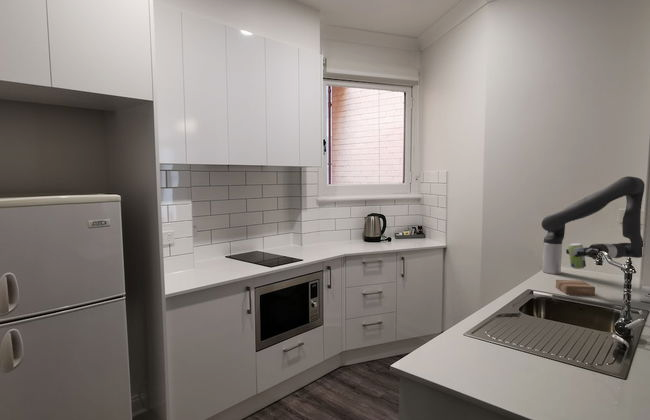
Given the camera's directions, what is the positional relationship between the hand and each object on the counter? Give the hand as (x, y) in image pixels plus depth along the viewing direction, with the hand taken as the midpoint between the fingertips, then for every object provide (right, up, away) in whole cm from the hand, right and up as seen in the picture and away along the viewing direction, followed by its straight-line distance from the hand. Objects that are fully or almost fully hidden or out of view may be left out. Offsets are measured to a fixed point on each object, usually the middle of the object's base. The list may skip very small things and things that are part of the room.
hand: (572, 252), depth 182 cm
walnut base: (+2, -19, +2) cm, 19 cm away
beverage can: (+3, -8, +1) cm, 8 cm away
